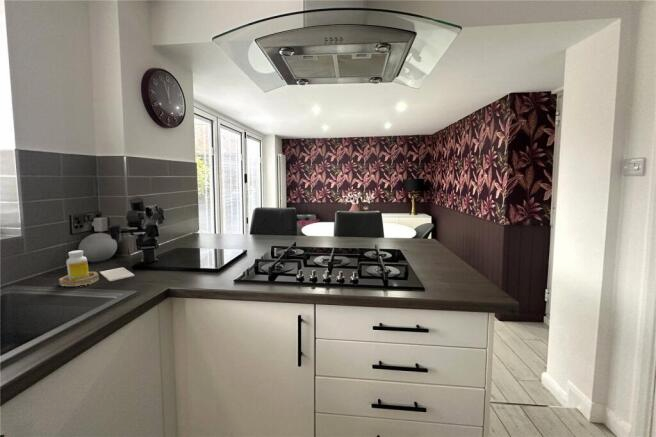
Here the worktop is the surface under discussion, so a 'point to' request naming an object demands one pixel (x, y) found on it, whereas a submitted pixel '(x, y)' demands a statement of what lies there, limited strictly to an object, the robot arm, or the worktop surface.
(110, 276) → the pad
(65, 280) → the ring holder
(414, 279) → the worktop surface
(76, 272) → the supplement bottle
